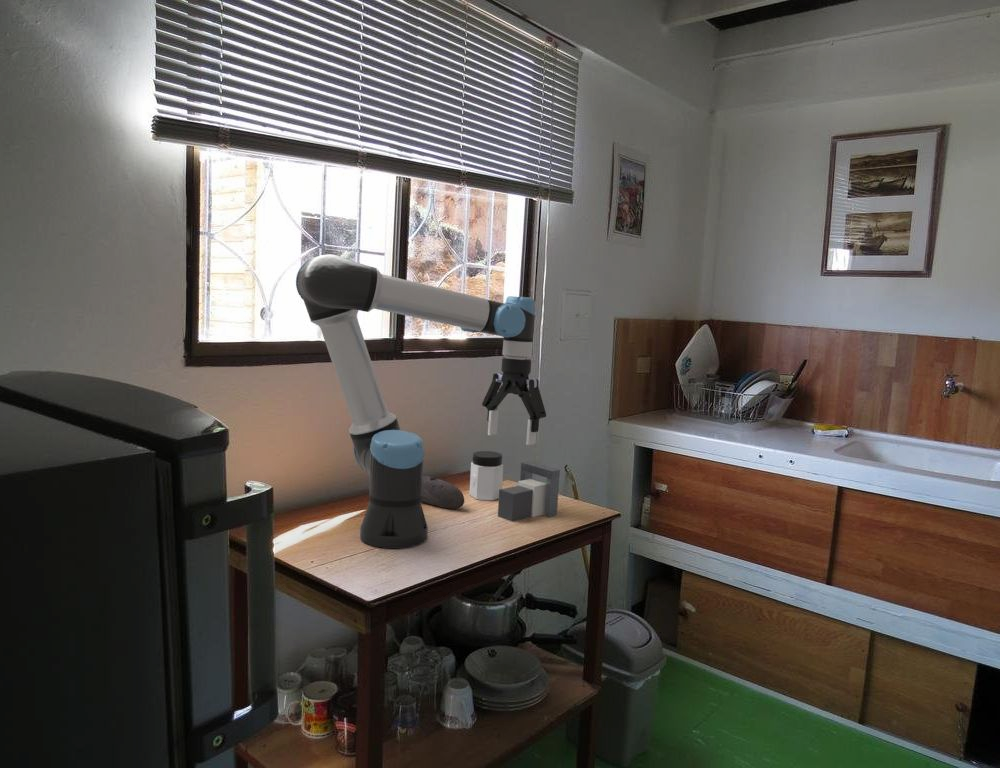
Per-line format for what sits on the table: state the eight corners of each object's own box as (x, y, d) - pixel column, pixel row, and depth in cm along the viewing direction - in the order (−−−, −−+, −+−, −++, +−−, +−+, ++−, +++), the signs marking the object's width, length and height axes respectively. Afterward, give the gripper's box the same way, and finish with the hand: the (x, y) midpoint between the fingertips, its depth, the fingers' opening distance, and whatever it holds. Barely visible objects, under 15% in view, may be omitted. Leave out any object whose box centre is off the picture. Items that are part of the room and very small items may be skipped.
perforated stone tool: (469, 510, 184) (470, 484, 183) (456, 514, 180) (457, 487, 179) (425, 498, 192) (426, 473, 191) (412, 502, 188) (413, 476, 187)
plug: (513, 522, 176) (514, 490, 175) (496, 515, 180) (498, 485, 179) (549, 512, 185) (551, 483, 184) (533, 507, 189) (534, 477, 188)
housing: (549, 517, 181) (552, 471, 180) (518, 506, 189) (521, 462, 188) (556, 515, 183) (559, 469, 182) (526, 504, 191) (529, 461, 190)
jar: (465, 493, 199) (467, 451, 197) (490, 490, 203) (493, 449, 201) (479, 502, 191) (481, 458, 190) (505, 499, 195) (508, 456, 193)
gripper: (564, 362, 175) (557, 447, 177) (492, 352, 192) (487, 429, 194) (544, 363, 169) (538, 450, 172) (472, 352, 186) (467, 432, 189)
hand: (511, 439), depth 183 cm, fingers open, 13 cm apart
